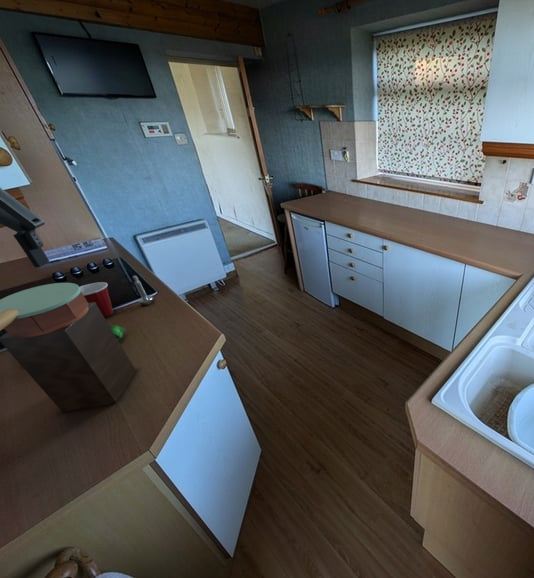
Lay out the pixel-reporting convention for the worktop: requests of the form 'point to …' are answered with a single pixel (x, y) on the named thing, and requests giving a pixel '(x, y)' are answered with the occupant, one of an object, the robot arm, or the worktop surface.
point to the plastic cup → (98, 296)
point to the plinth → (71, 355)
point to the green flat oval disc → (36, 301)
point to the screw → (142, 292)
